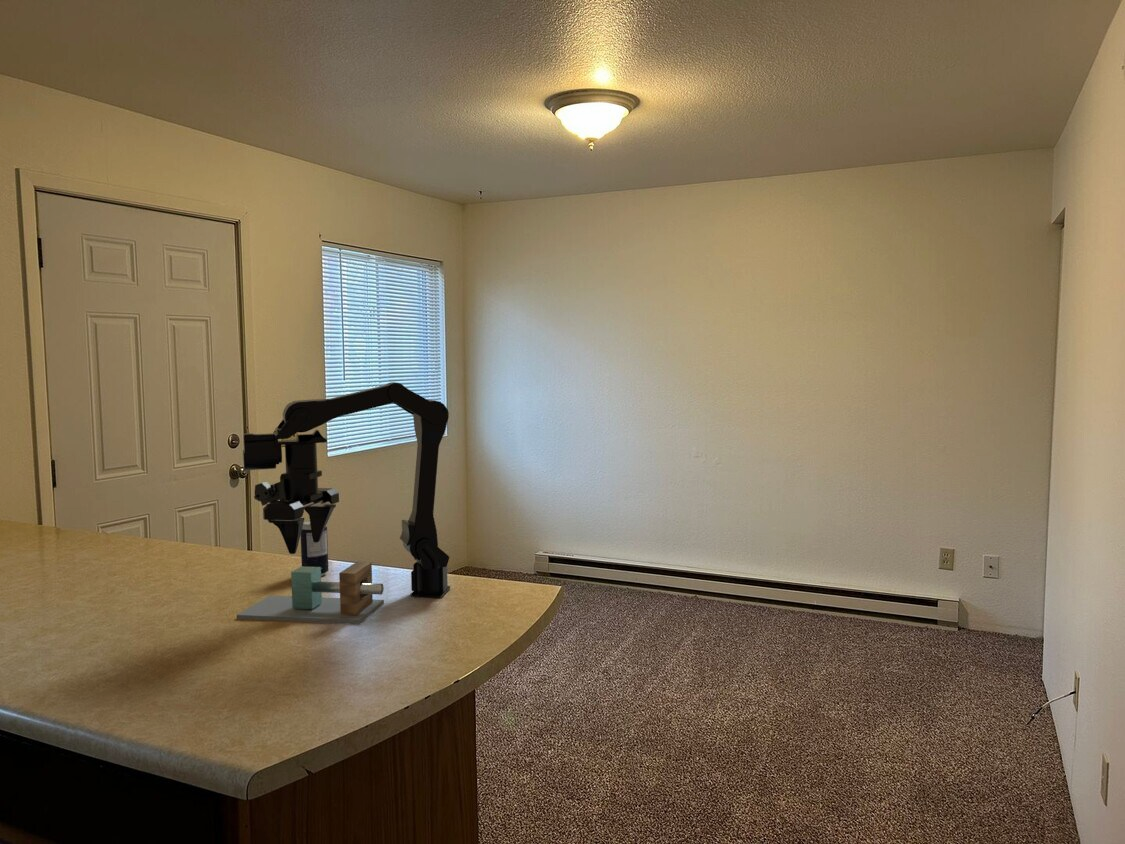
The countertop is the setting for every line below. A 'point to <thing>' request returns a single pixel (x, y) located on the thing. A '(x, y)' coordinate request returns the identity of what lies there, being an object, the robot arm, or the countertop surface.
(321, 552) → the beverage can
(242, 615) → the base board
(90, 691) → the countertop surface
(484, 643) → the countertop surface
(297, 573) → the green cube on rod
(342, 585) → the square wooden collar
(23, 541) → the countertop surface
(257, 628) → the countertop surface
